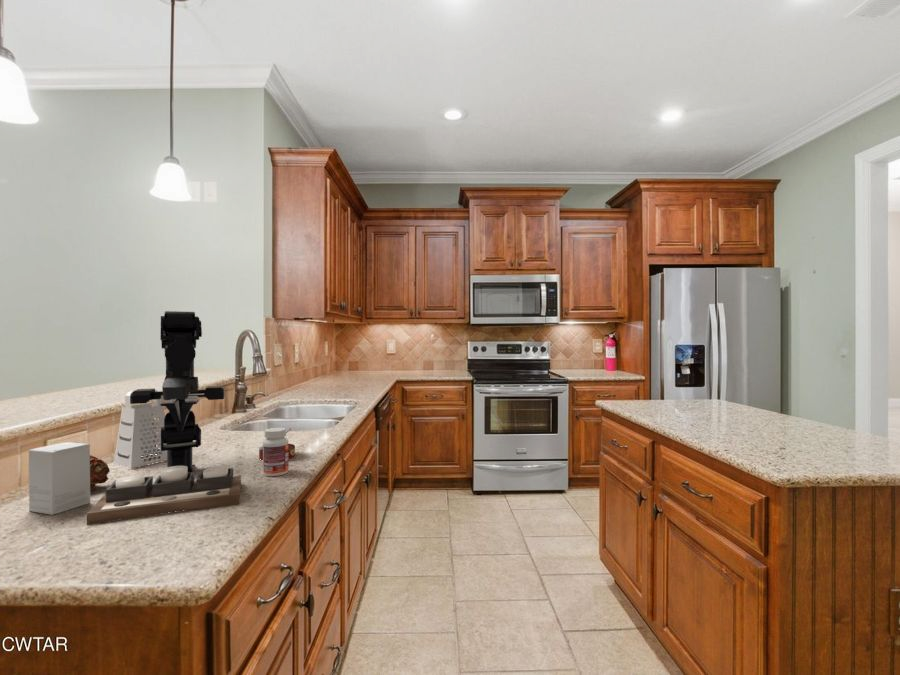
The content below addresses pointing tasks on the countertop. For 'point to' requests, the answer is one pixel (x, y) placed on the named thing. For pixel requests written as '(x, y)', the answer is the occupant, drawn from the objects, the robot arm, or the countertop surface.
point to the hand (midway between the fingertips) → (180, 431)
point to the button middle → (174, 474)
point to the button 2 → (215, 472)
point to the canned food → (290, 450)
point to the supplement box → (59, 477)
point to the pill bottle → (275, 452)
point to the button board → (165, 497)
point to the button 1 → (130, 481)
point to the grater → (139, 434)
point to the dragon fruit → (97, 471)
